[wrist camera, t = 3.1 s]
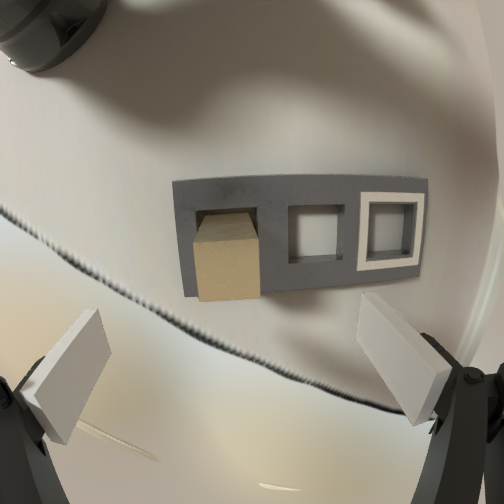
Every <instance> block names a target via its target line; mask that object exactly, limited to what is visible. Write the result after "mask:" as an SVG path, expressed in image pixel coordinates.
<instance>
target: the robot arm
mask: <svg viewBox="0 0 504 504" xmlns="http://www.w3.org/2000/svg"><path fill="white" fill-rule="evenodd" d="M107 2H108V0H0V50H1V51H2V52H4V53H5V54H6V57H7V59H8V60H9V61H10V63H11V64H12V65H14V66H15V67H17V68H20V69H23V70H25V71H29V72H38V71H43V70H46V69H49V68H51V67H53V66H55V65H57V64H59V63H60V62H62V61H63V60H65V59H66V58H67V57H69V56H70V55H71V54H72V53H74V52H75V51H76V50H77V49H78V48H79V47H80V46H81V45H82V44H83V43H84V42H85V41H86V40H87V39H88V38H89V36H90V35H91V34H92V33H93V31H94V30H95V28H96V27H97V25H98V24H99V22H100V20H101V18H102V16H103V14H104V12H105V9H106V6H107ZM355 339H356V341H357V342H358V344H359V345H360V346H361V348H362V349H363V351H364V352H365V354H366V355H367V357H368V358H369V360H370V361H371V363H372V364H373V366H374V367H375V369H376V370H377V372H378V373H379V375H380V376H381V378H382V379H383V381H384V382H385V384H386V385H387V387H388V388H389V390H390V391H391V393H392V394H393V396H394V398H395V399H396V401H397V402H398V404H399V405H400V407H401V408H402V410H403V412H404V413H405V415H406V416H407V418H408V419H409V421H410V422H411V424H412V425H413V426H416V425H418V424H421V423H424V422H426V421H428V420H429V419H430V417H431V415H432V413H433V411H435V412H436V414H437V415H438V417H437V419H436V421H435V423H434V424H433V426H432V428H431V430H430V432H429V434H431V433H432V431H433V433H432V438H431V442H430V445H429V449H428V453H427V456H426V460H425V463H424V467H423V470H422V473H421V476H420V479H419V482H418V485H417V488H416V491H415V493H414V496H413V499H412V501H411V504H478V500H479V494H480V489H481V484H482V477H483V472H484V482H485V498H486V504H504V363H502V364H501V365H500V367H499V369H498V371H497V373H495V374H488V375H485V374H484V373H483V372H482V371H481V370H479V369H478V368H474V367H464V368H463V367H462V366H461V365H460V364H459V363H458V362H457V361H456V360H455V359H454V358H453V357H452V356H451V355H450V354H449V353H448V352H447V351H445V349H444V348H443V347H442V346H441V345H440V344H439V343H438V342H437V341H436V340H435V339H434V338H433V337H431V336H429V335H427V334H425V333H421V334H419V333H418V332H417V331H416V330H415V329H414V328H413V327H412V326H411V325H410V324H409V323H408V322H407V321H406V320H405V319H404V318H403V317H402V316H401V315H400V314H399V313H397V312H396V311H395V310H394V309H393V308H392V307H391V306H390V305H389V304H388V303H387V302H386V301H385V300H384V299H383V298H382V297H381V296H380V295H378V294H377V293H376V292H375V291H371V292H363V293H361V301H360V310H359V317H358V324H357V331H356V338H355ZM110 355H111V350H110V347H109V344H108V341H107V338H106V335H105V331H104V328H103V325H102V321H101V318H100V314H99V310H98V309H85V310H84V311H83V312H82V313H81V315H80V316H79V317H78V318H77V319H76V320H75V321H74V323H73V324H72V325H71V326H70V327H69V329H68V330H67V331H66V332H65V333H64V335H63V336H62V337H61V338H60V339H59V341H58V342H57V343H56V344H55V345H54V347H53V348H52V349H51V350H50V352H49V353H48V354H47V355H46V356H44V357H42V358H41V359H39V360H38V361H37V362H36V363H35V364H34V365H33V366H32V368H31V370H29V371H28V373H27V375H26V376H25V377H24V378H23V379H22V381H21V382H20V383H19V385H18V386H17V387H16V389H15V390H14V391H13V393H12V391H11V389H10V387H9V386H8V384H7V382H6V380H5V379H4V378H3V377H1V376H0V504H70V503H69V501H68V499H67V497H66V495H65V492H64V490H63V488H62V486H61V483H60V481H59V478H58V476H57V474H56V471H55V468H54V466H53V463H52V460H51V458H50V455H49V452H48V449H47V446H46V443H45V442H44V440H43V439H42V437H43V435H44V433H46V434H47V436H48V437H49V438H50V440H51V441H52V442H56V443H59V444H63V445H67V442H68V440H69V438H70V436H71V433H72V431H73V429H74V427H75V425H76V423H77V421H78V418H79V416H80V414H81V412H82V410H83V408H84V406H85V404H86V402H87V400H88V398H89V396H90V394H91V391H92V390H93V388H94V386H95V384H96V382H97V380H98V378H99V376H100V374H101V372H102V370H103V369H104V367H105V365H106V363H107V361H108V359H109V357H110Z"/></svg>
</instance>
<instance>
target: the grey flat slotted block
mask: <svg viewBox="0 0 504 504" xmlns="http://www.w3.org/2000/svg"><path fill="white" fill-rule="evenodd" d="M172 186H173V199H174V210H175V221H176V231H177V241H178V250H179V258H180V266H181V274H182V282H183V289H184V296H185V297H198V296H199V294H198V286H197V277H196V268H195V259H194V249H193V241H194V239H195V237H196V235H197V232H198V230H199V226H198V213H197V211H200V210H214V209H230V208H248V207H255V209H256V234H257V236H258V239H259V267H260V293H262V292H275V291H288V290H300V289H311V288H322V287H332V286H342V285H351V284H361V283H370V282H378V281H387V280H395V279H403V278H410V277H418V276H419V273H420V266H421V259H422V252H423V243H424V234H425V223H426V210H427V190H428V179H424V178H416V177H401V176H383V175H356V174H277V175H249V176H229V177H214V178H200V179H188V180H176V181H173V182H172ZM327 204H338V225H337V252H336V254H334V255H320V256H305V257H290V258H288V206H293V205H327ZM370 204H405V212H404V227H403V239H402V249H401V250H390V251H376V252H368V240H369V222H370Z"/></svg>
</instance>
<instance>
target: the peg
mask: <svg viewBox="0 0 504 504" xmlns="http://www.w3.org/2000/svg"><path fill="white" fill-rule="evenodd" d="M193 249H194V259H195V268H196V277H197V286H198V294H199V302H208V301H225V300H241V299H255V298H261V297H260V267H259V239H258V236H257V234H256V231H255V229H254V226H253V224H252V221H251V219H250V216H249V214H248V212H243V213H226V214H210V215H205V217H204V219H203V221H202V223H201V226H200V228H199V230H198V232H197V235H196V237H195V239H194V241H193Z"/></svg>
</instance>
